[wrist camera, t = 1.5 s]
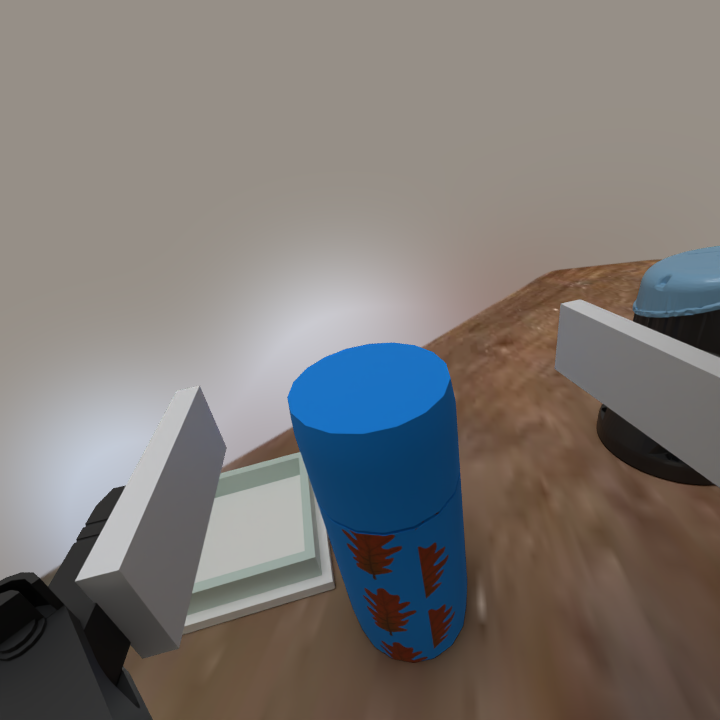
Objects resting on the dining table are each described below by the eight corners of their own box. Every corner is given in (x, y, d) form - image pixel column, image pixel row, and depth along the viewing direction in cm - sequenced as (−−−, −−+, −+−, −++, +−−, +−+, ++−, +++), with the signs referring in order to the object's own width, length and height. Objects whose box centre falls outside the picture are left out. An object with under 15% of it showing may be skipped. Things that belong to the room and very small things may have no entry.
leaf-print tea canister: (378, 534, 42) (332, 339, 30) (475, 560, 37) (466, 343, 26) (336, 638, 34) (250, 423, 22) (455, 688, 29) (428, 451, 17)
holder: (319, 465, 53) (312, 443, 51) (335, 588, 38) (326, 563, 36) (194, 500, 52) (182, 478, 50) (156, 642, 36) (136, 620, 34)
